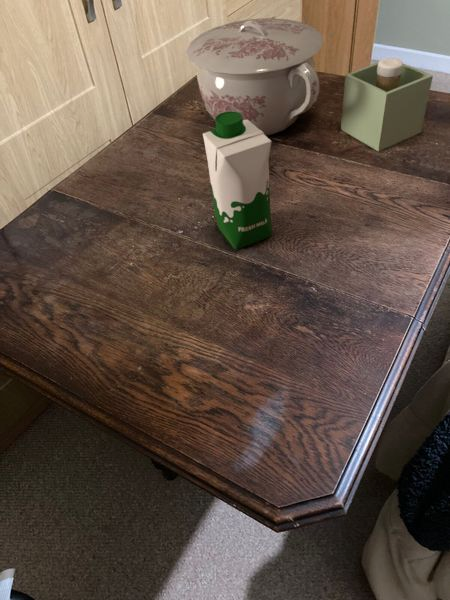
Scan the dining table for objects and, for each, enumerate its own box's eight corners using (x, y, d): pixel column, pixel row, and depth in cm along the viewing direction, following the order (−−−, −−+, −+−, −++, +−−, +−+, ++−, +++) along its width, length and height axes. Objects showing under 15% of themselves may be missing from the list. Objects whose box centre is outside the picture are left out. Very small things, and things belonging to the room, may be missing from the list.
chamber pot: (201, 97, 121) (189, 4, 106) (314, 89, 119) (318, -8, 104) (192, 159, 102) (175, 56, 87) (326, 151, 100) (332, 43, 85)
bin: (381, 113, 108) (389, 57, 99) (420, 133, 101) (433, 75, 92) (340, 130, 105) (345, 74, 96) (378, 152, 98) (386, 94, 89)
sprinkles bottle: (364, 129, 102) (373, 63, 93) (378, 121, 104) (387, 55, 94) (383, 136, 100) (393, 69, 90) (397, 127, 102) (408, 60, 92)
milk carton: (255, 210, 89) (248, 103, 74) (279, 238, 83) (277, 127, 68) (210, 227, 87) (194, 119, 72) (233, 256, 81) (220, 146, 66)
